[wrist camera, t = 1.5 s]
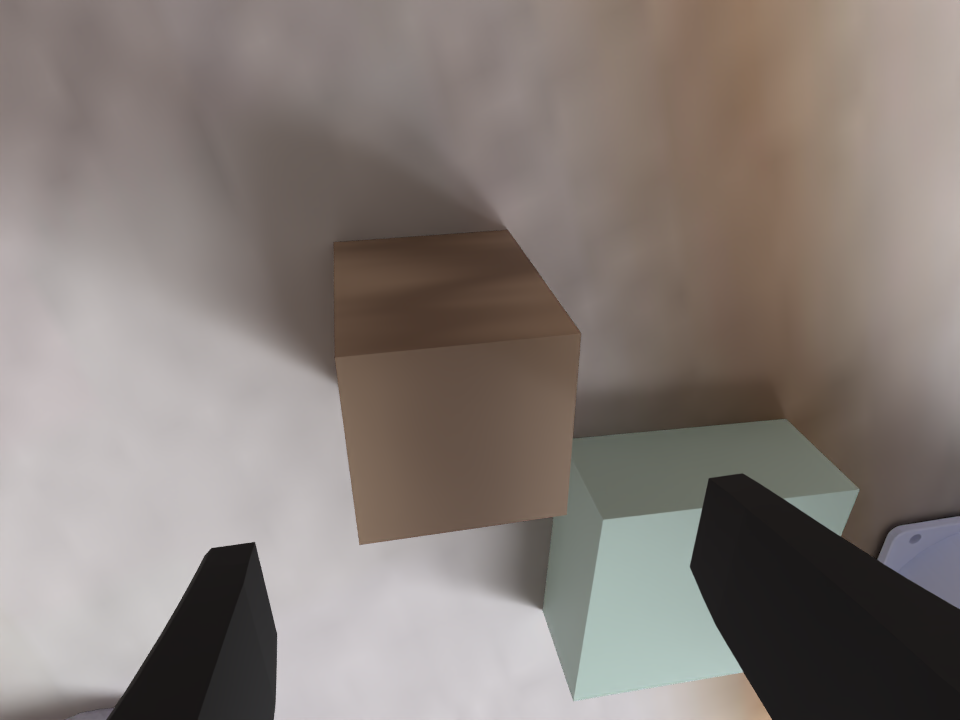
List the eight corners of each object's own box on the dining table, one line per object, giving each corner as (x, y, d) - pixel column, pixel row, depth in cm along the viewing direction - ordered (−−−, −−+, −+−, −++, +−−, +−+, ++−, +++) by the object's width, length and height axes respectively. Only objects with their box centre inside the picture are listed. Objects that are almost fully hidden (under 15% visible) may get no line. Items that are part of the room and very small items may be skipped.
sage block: (780, 413, 23) (859, 489, 20) (730, 577, 27) (788, 664, 23) (559, 434, 21) (603, 519, 18) (540, 604, 25) (573, 701, 22)
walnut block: (507, 229, 17) (581, 333, 12) (505, 375, 20) (566, 514, 15) (333, 241, 17) (334, 357, 12) (351, 392, 19) (359, 545, 14)
